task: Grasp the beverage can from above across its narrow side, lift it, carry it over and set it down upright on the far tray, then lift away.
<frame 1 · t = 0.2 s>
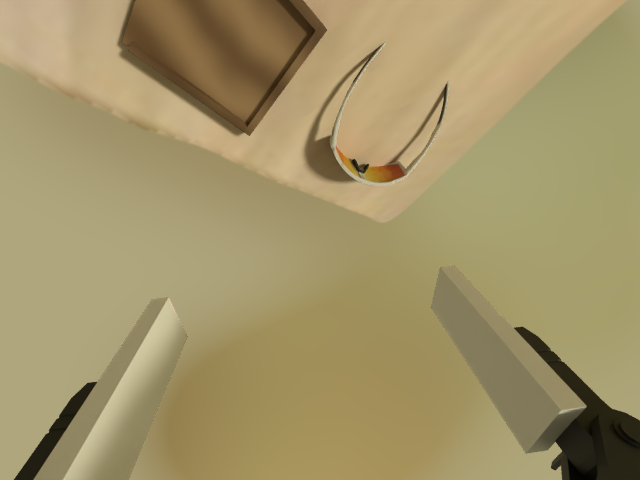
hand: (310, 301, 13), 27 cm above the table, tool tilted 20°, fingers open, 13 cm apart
far tray: (227, 32, 26), on the table
sunglasses: (382, 121, 35), on the table
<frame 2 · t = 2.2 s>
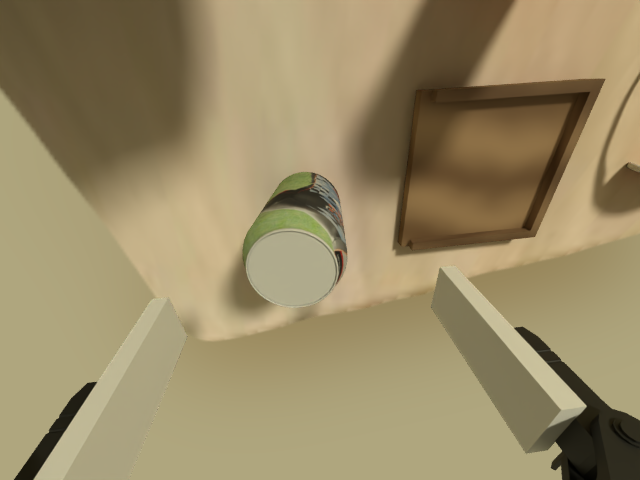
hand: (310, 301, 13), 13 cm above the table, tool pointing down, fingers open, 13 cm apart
far tray: (477, 171, 24), on the table
beverage can: (299, 196, 24), on the table
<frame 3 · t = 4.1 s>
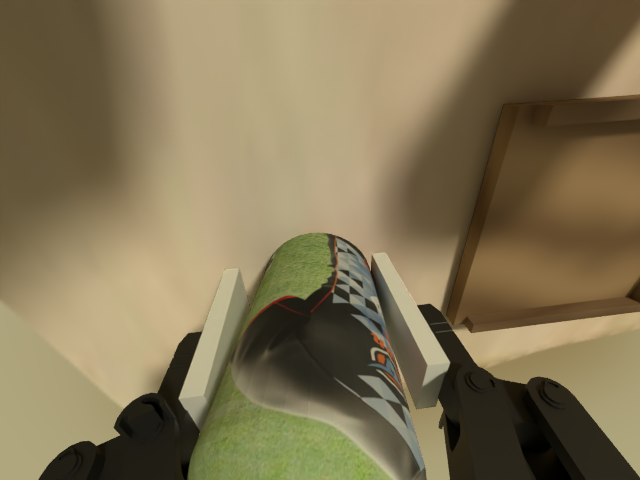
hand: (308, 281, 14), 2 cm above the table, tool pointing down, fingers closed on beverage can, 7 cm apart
far tray: (575, 222, 16), on the table
beverage can: (306, 262, 16), on the table, touching gripper
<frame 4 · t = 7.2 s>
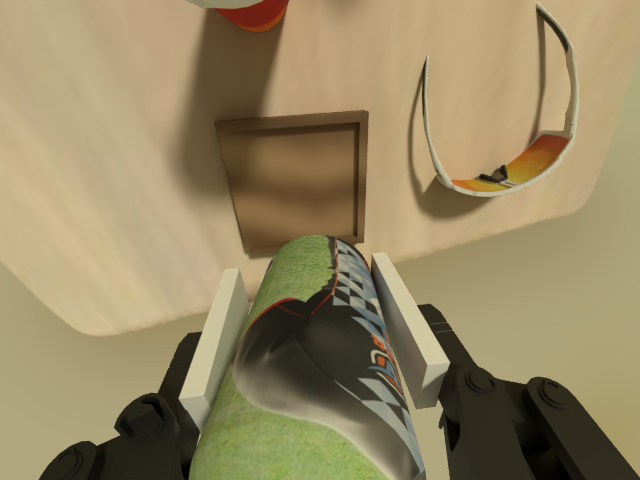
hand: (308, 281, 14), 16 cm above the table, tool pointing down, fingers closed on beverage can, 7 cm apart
far tray: (298, 186, 28), on the table
beverage can: (306, 263, 16), point 14 cm above the table, touching gripper
sunglasses: (482, 114, 27), on the table
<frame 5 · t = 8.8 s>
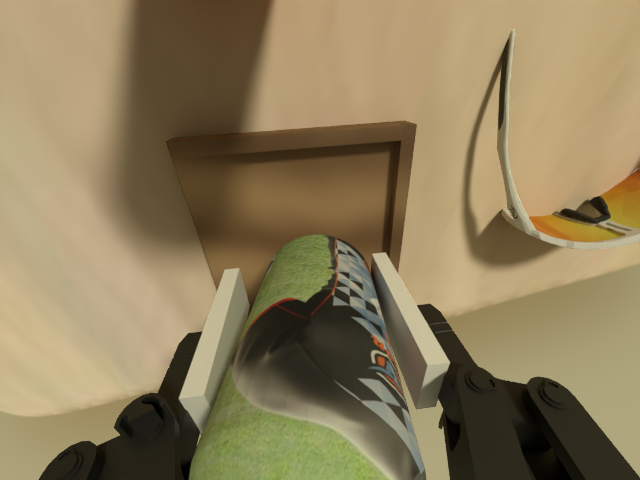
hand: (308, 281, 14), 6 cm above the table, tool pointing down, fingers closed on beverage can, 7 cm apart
far tray: (302, 230, 19), on the table
beverage can: (306, 263, 16), point 4 cm above the table, touching gripper
sunglasses: (578, 124, 18), on the table
when the fingers open (4 cm above the table, at t = 10.1 s): beverage can stays where it is, resting on far tray.
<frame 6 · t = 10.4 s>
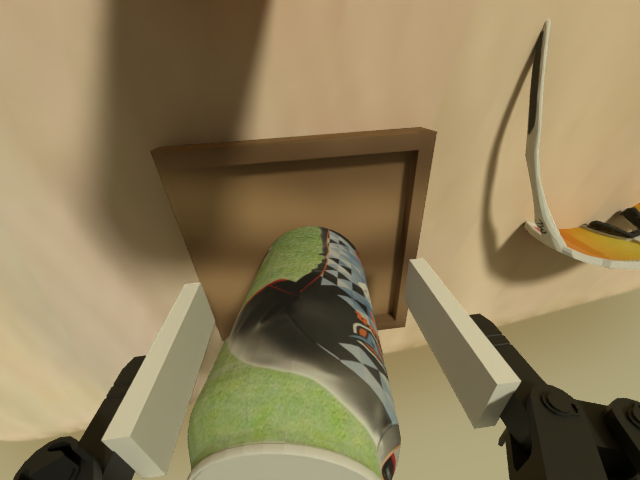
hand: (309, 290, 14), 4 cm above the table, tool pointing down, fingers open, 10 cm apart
far tray: (305, 247, 17), on the table
beverage can: (302, 255, 17), point 1 cm above the table, touching far tray
sunglasses: (613, 128, 16), on the table
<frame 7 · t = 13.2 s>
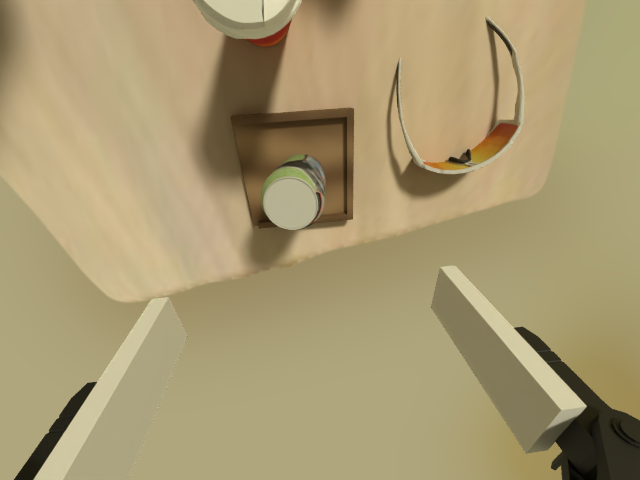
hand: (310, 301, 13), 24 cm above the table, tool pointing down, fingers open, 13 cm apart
far tray: (298, 170, 34), on the table
paper cup: (262, 13, 26), on the table
beverage can: (296, 173, 33), point 1 cm above the table, touching far tray
sunglasses: (448, 107, 32), on the table
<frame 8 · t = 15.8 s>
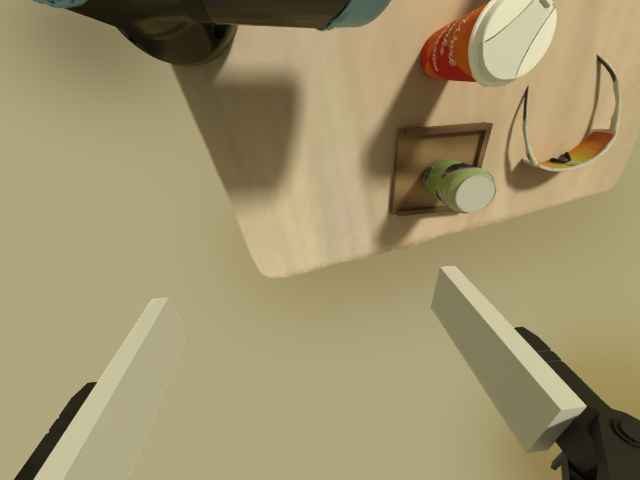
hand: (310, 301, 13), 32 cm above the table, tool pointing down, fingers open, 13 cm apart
far tray: (434, 170, 43), on the table
paper cup: (439, 55, 35), on the table
beverage can: (435, 172, 43), point 1 cm above the table, touching far tray
sunglasses: (556, 119, 42), on the table
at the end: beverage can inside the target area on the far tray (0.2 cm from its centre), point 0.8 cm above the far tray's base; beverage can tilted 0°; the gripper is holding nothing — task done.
